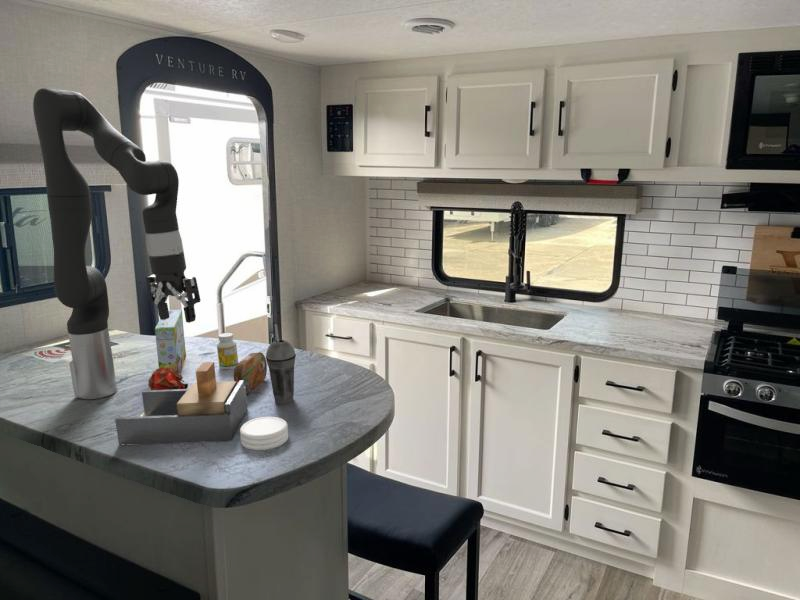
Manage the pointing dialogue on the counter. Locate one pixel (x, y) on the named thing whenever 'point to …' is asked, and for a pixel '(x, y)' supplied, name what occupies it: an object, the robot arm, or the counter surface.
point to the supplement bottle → (227, 351)
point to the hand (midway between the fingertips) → (177, 320)
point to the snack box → (171, 341)
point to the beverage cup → (281, 369)
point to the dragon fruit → (166, 380)
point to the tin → (251, 371)
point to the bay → (181, 420)
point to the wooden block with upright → (206, 393)
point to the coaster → (264, 433)
